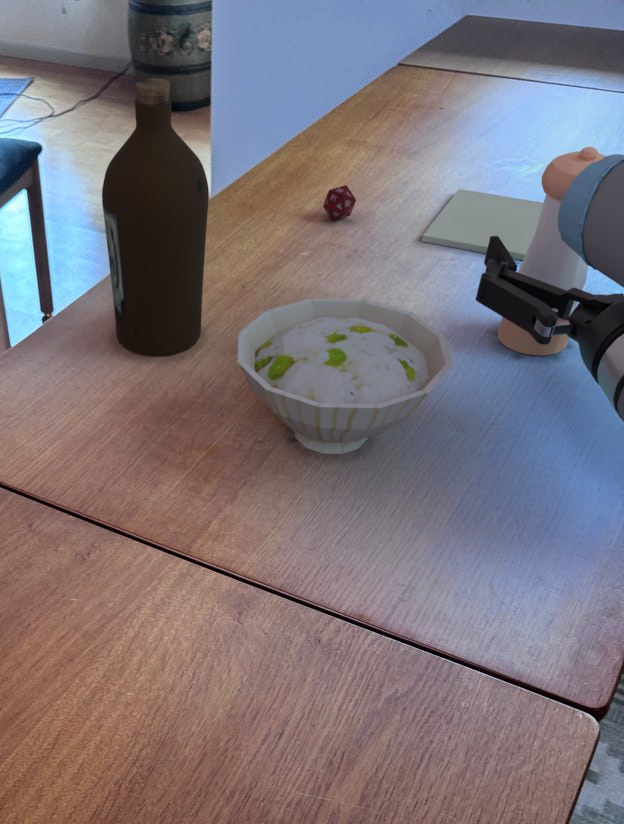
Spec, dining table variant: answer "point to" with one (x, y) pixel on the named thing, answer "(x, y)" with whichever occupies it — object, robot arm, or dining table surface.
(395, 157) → the dining table surface
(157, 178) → the olive oil
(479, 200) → the tile
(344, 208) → the dice
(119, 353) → the dining table surface
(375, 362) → the bowl
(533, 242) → the salt shaker
